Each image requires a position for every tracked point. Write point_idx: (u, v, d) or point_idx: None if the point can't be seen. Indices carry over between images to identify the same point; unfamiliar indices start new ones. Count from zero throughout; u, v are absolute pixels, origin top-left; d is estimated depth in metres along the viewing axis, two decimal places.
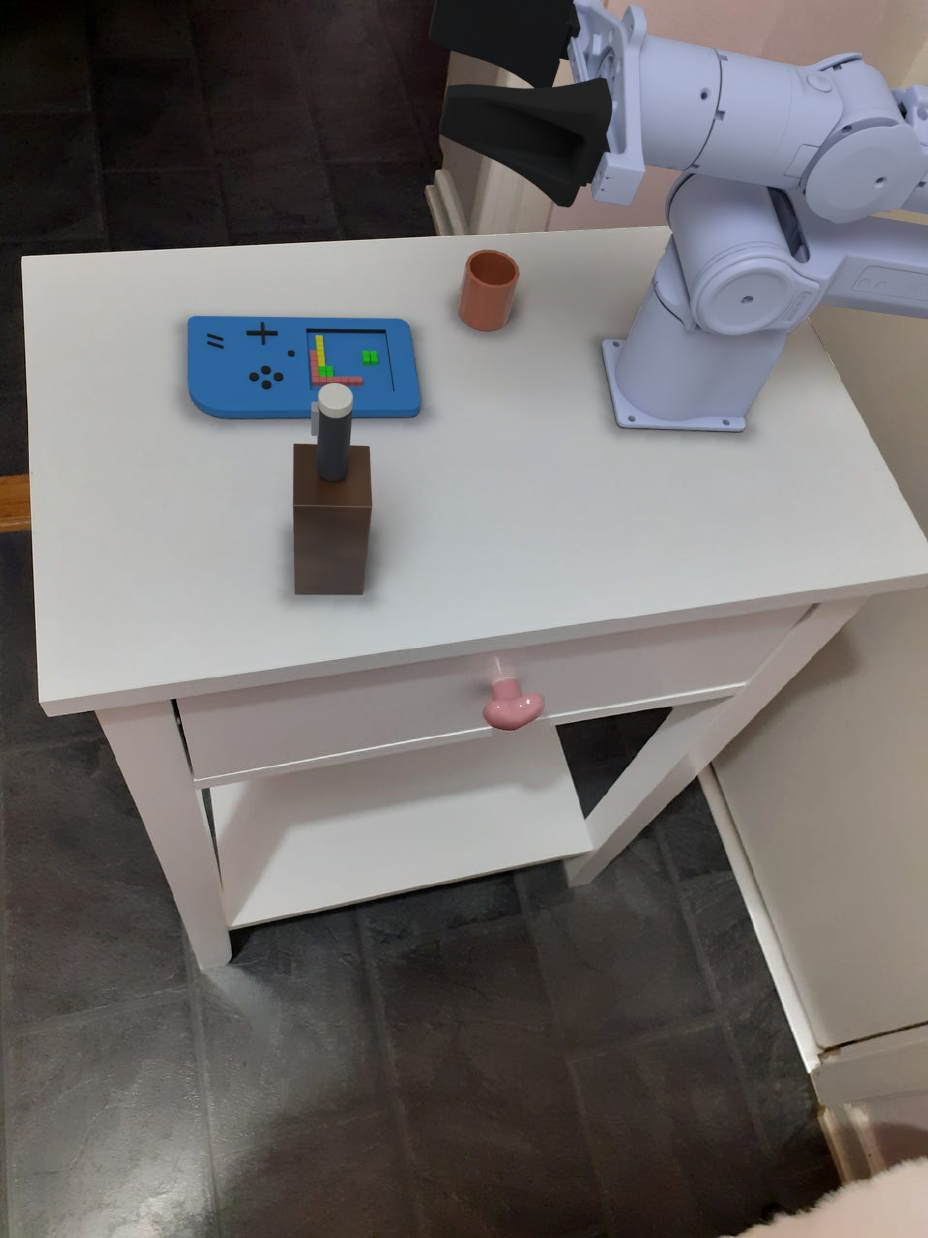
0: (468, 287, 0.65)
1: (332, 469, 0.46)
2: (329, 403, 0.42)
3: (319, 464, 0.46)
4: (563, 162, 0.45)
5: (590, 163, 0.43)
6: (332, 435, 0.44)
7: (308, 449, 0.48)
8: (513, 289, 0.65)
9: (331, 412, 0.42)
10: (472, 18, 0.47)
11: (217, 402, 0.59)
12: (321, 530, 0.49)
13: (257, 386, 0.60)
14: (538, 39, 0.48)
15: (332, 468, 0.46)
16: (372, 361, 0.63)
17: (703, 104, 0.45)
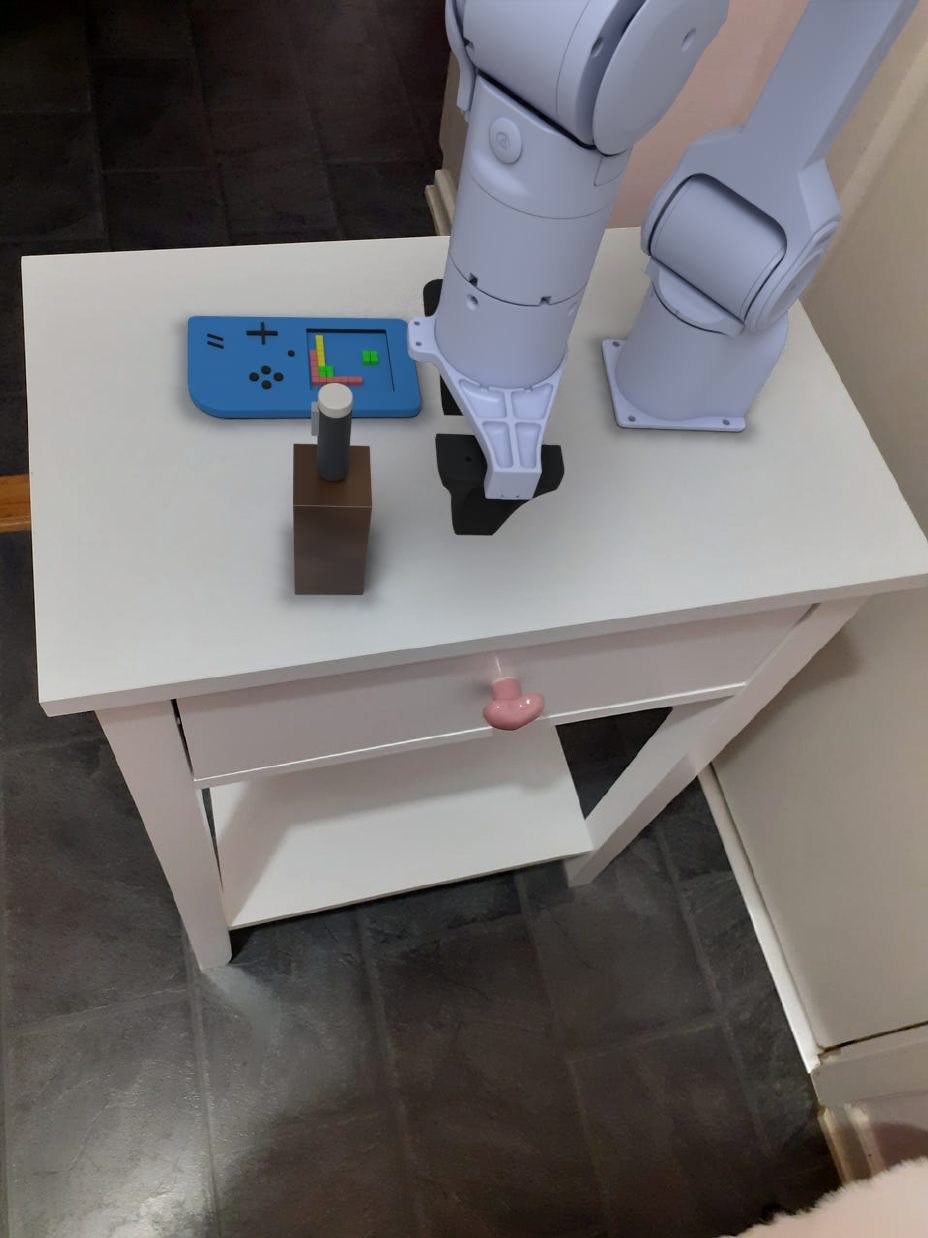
0: None
1: (332, 469, 0.46)
2: (329, 403, 0.42)
3: (319, 464, 0.46)
4: None
5: None
6: (332, 435, 0.44)
7: (308, 449, 0.48)
8: None
9: (331, 412, 0.42)
10: None
11: (217, 402, 0.59)
12: (321, 530, 0.49)
13: (257, 386, 0.60)
14: None
15: (332, 468, 0.46)
16: (373, 361, 0.63)
17: (480, 308, 0.36)
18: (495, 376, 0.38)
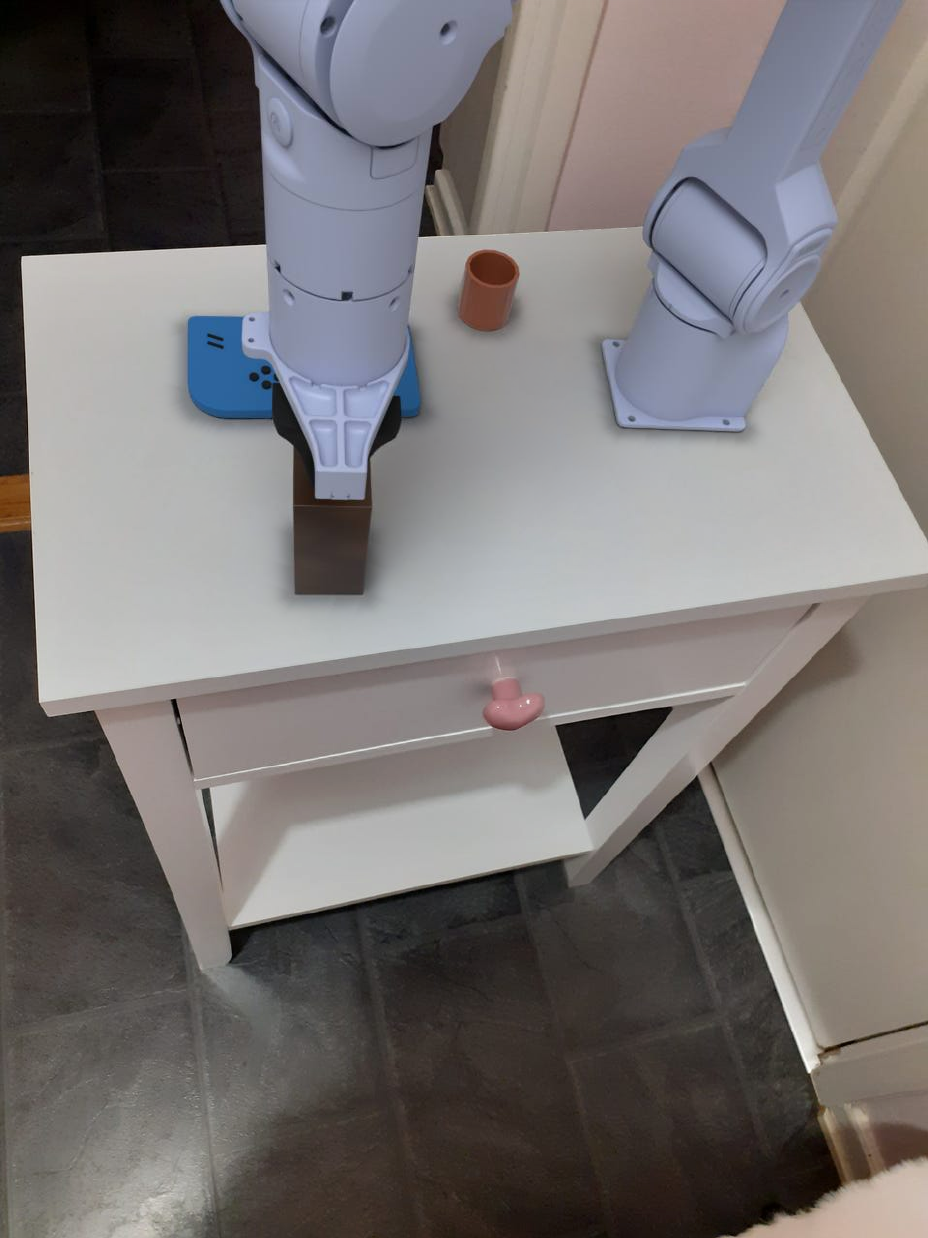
0: (468, 287, 0.65)
1: None
2: None
3: None
4: None
5: None
6: None
7: None
8: (513, 289, 0.65)
9: None
10: None
11: (217, 402, 0.59)
12: (321, 530, 0.49)
13: (257, 386, 0.60)
14: None
15: None
16: None
17: (297, 303, 0.35)
18: (325, 373, 0.37)
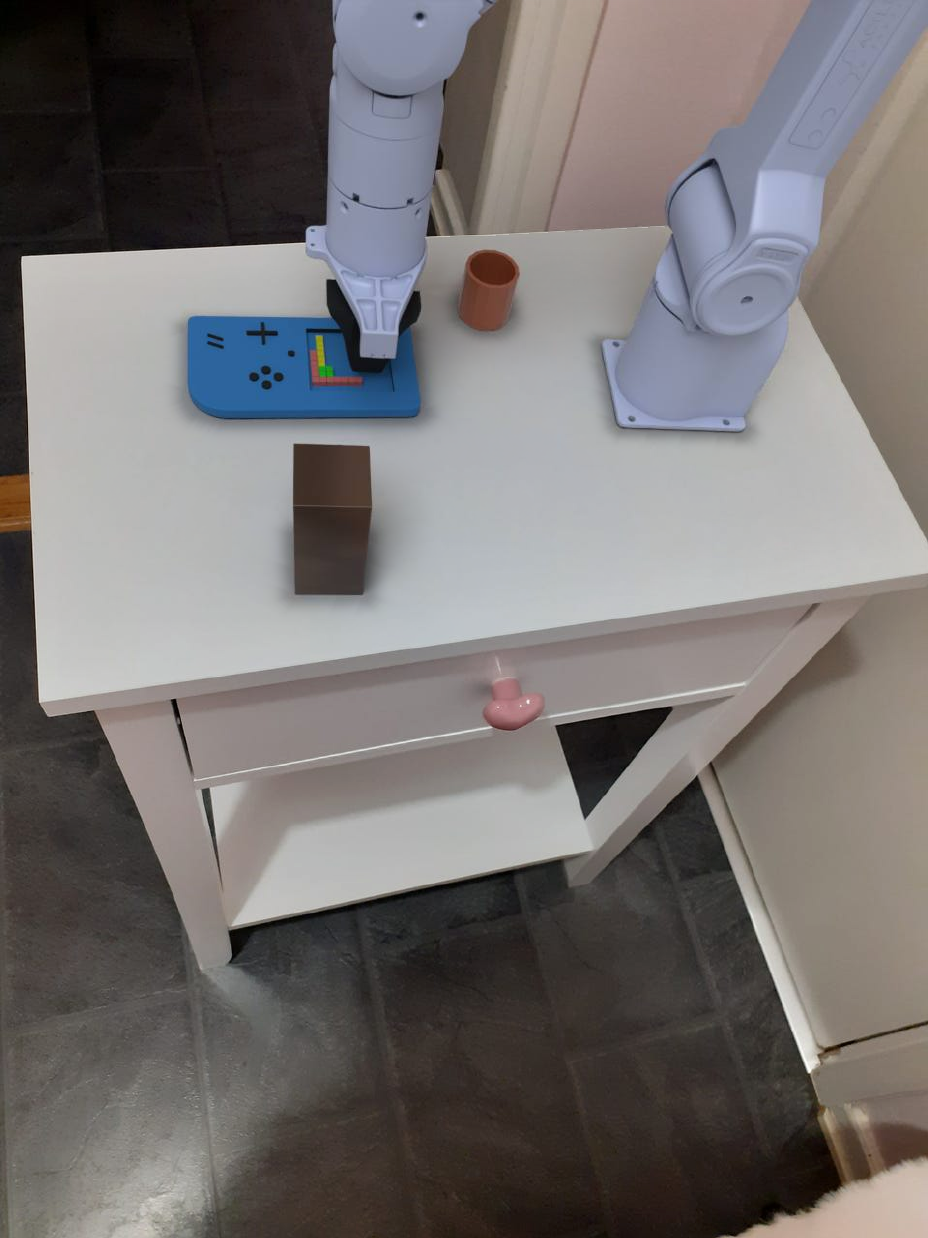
0: (468, 287, 0.65)
1: None
2: None
3: None
4: None
5: None
6: None
7: (308, 449, 0.48)
8: (513, 289, 0.65)
9: None
10: None
11: (217, 402, 0.59)
12: (321, 530, 0.49)
13: (257, 386, 0.60)
14: None
15: None
16: None
17: (350, 211, 0.49)
18: (367, 266, 0.52)
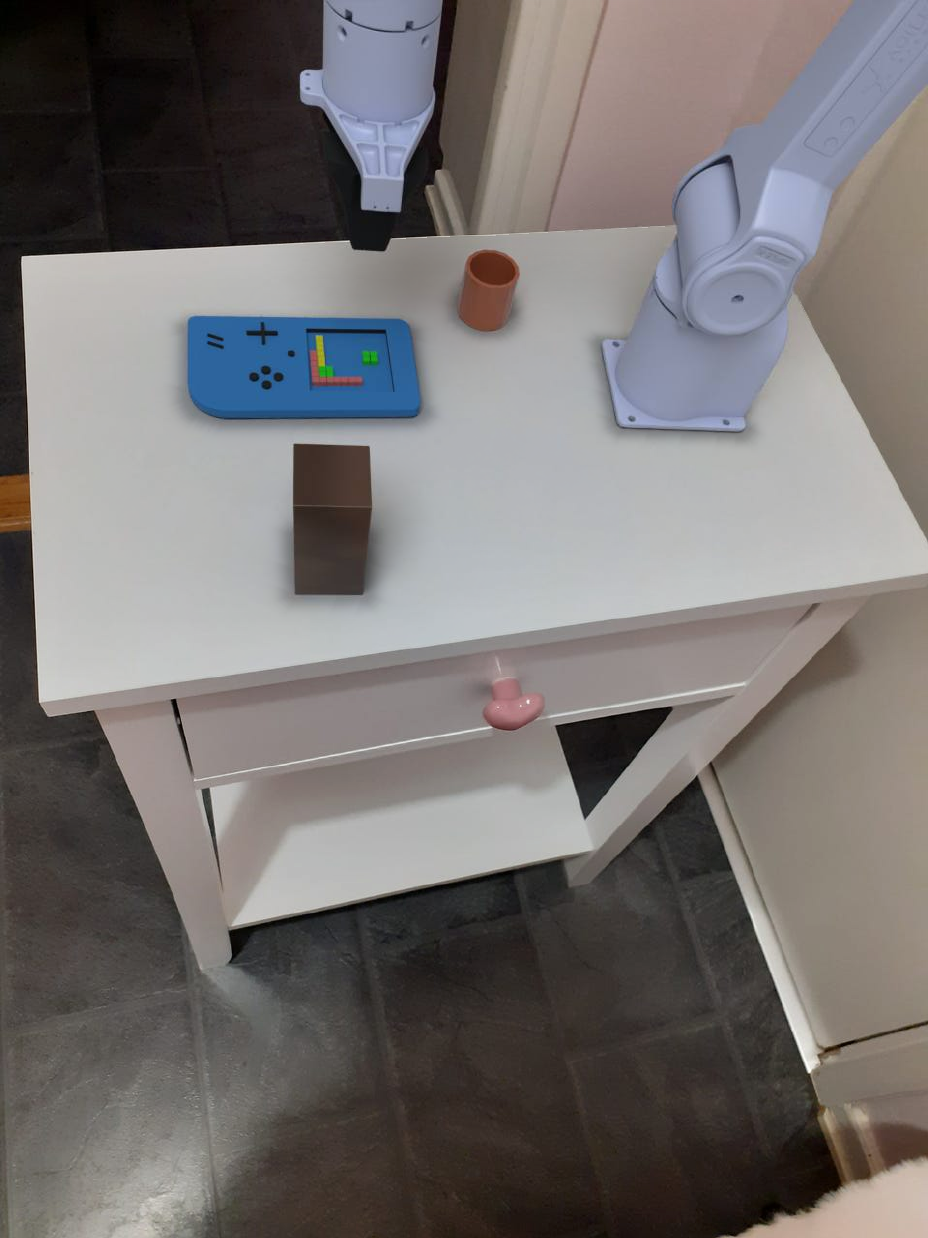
0: (468, 287, 0.65)
1: None
2: None
3: None
4: None
5: None
6: None
7: (308, 449, 0.48)
8: (513, 289, 0.65)
9: None
10: None
11: (217, 402, 0.59)
12: (321, 530, 0.49)
13: (257, 386, 0.60)
14: None
15: None
16: (373, 361, 0.63)
17: (348, 37, 0.44)
18: (369, 109, 0.47)
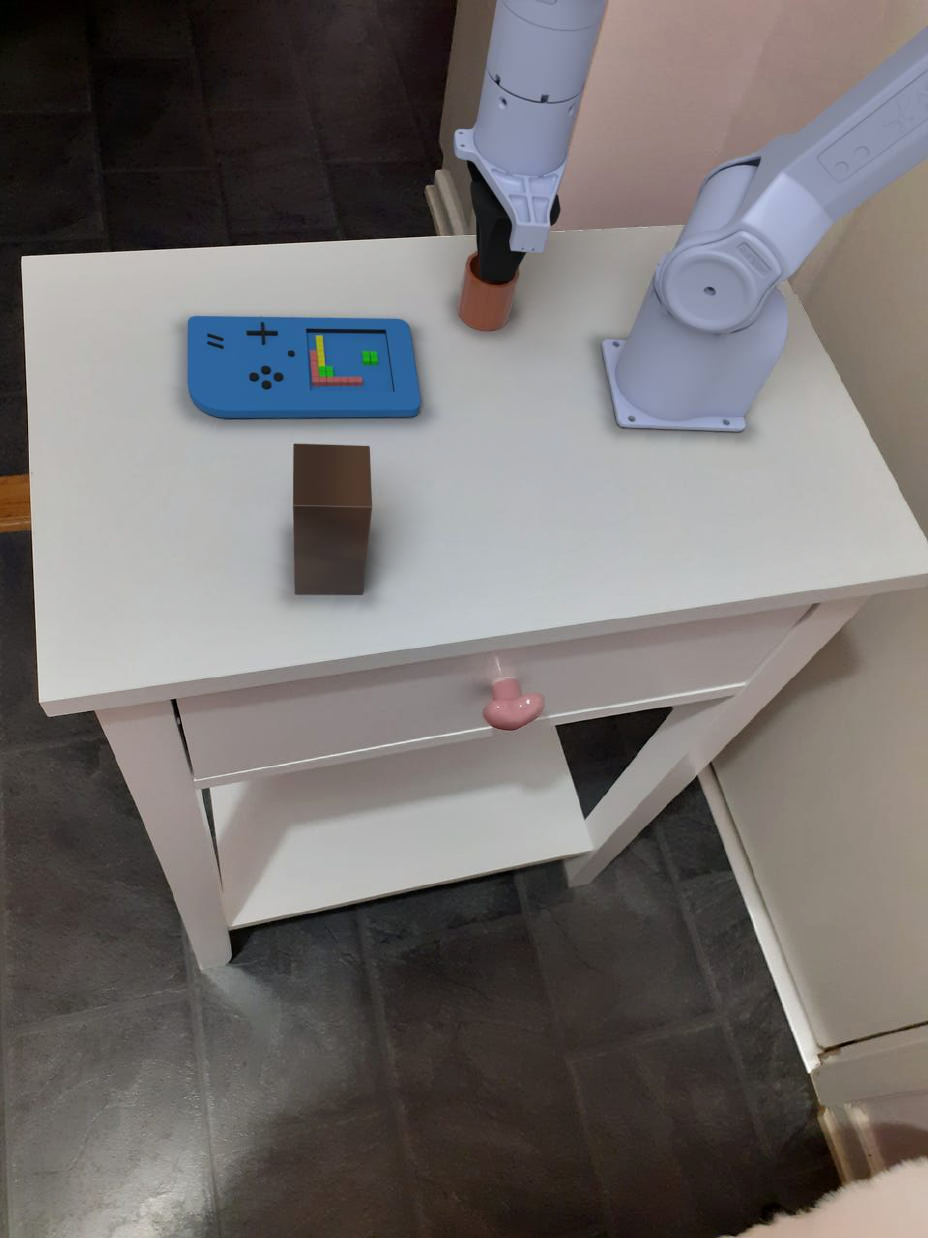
0: (468, 287, 0.65)
1: None
2: None
3: None
4: None
5: None
6: None
7: (308, 449, 0.48)
8: (513, 289, 0.65)
9: None
10: None
11: (217, 402, 0.59)
12: (321, 530, 0.49)
13: (257, 386, 0.60)
14: None
15: None
16: (373, 361, 0.63)
17: (508, 106, 0.52)
18: (517, 164, 0.54)
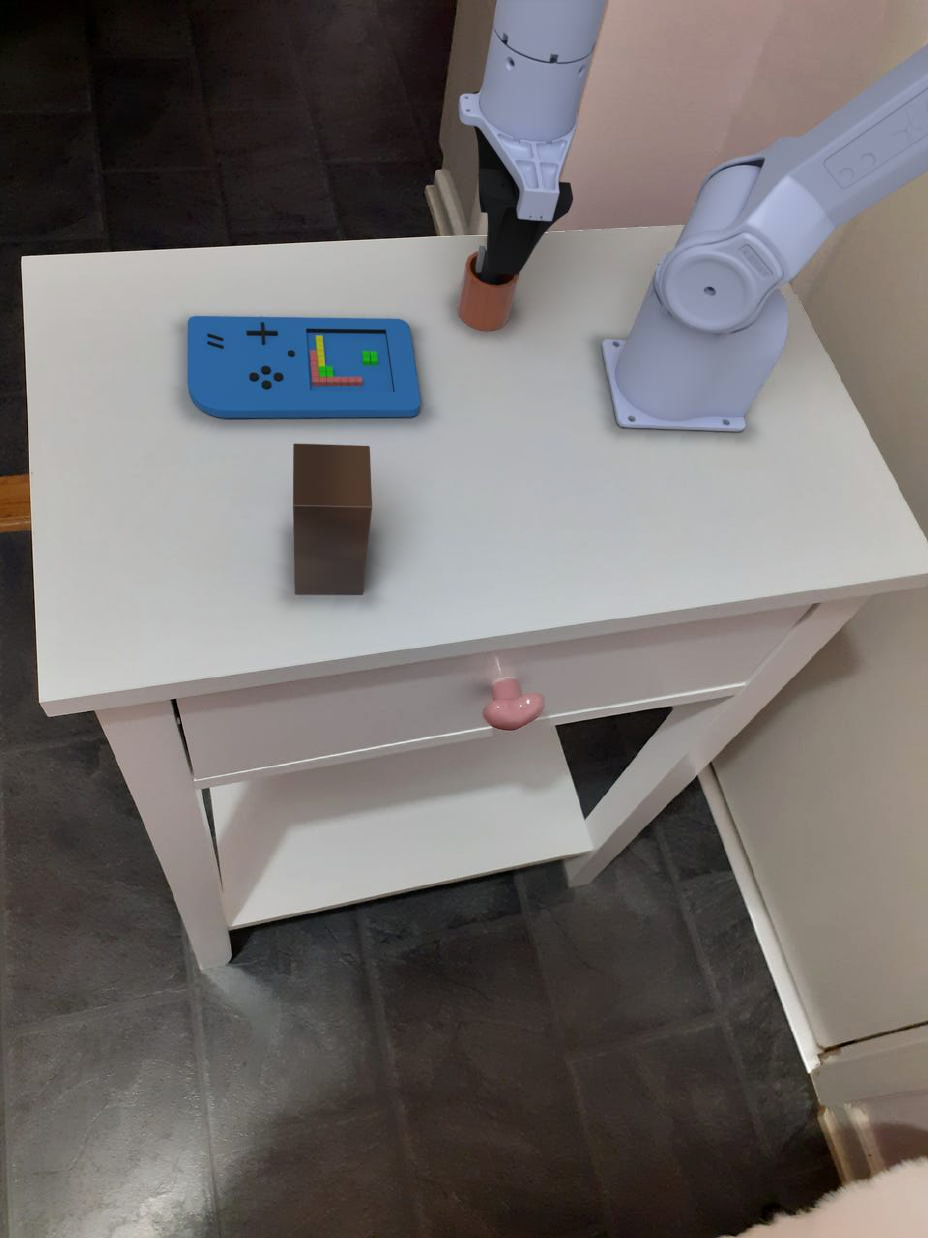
0: (468, 287, 0.65)
1: None
2: None
3: None
4: None
5: None
6: None
7: (308, 449, 0.48)
8: (513, 289, 0.65)
9: None
10: None
11: (217, 402, 0.59)
12: (321, 530, 0.49)
13: (257, 386, 0.60)
14: None
15: None
16: (373, 361, 0.63)
17: (516, 67, 0.50)
18: (525, 129, 0.52)
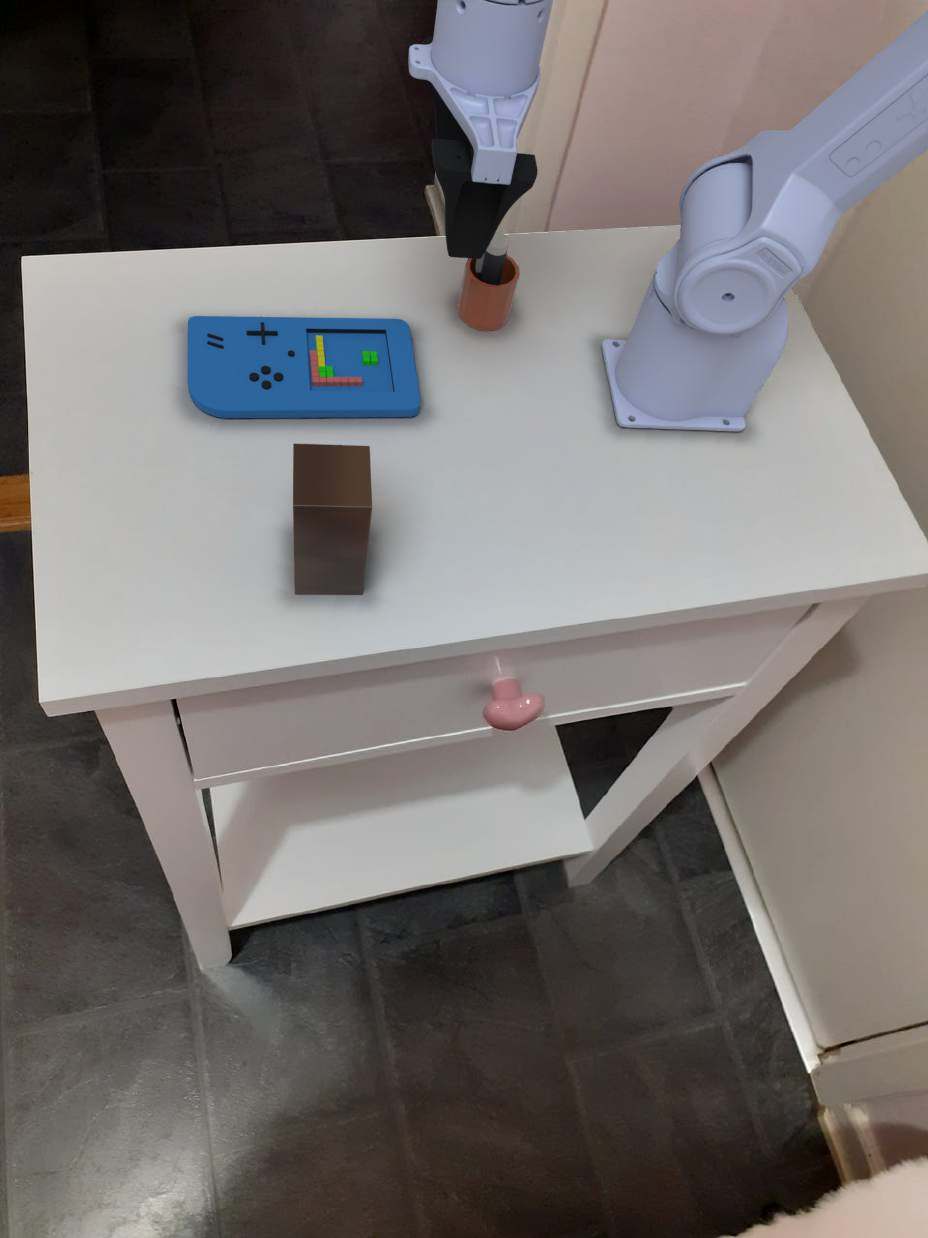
0: (468, 287, 0.65)
1: None
2: (494, 244, 0.62)
3: None
4: None
5: None
6: (492, 270, 0.64)
7: (308, 449, 0.48)
8: (513, 289, 0.65)
9: (495, 251, 0.62)
10: None
11: (217, 402, 0.59)
12: (321, 530, 0.49)
13: (257, 386, 0.60)
14: None
15: None
16: (373, 361, 0.63)
17: (467, 10, 0.44)
18: (480, 82, 0.47)
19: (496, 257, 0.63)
